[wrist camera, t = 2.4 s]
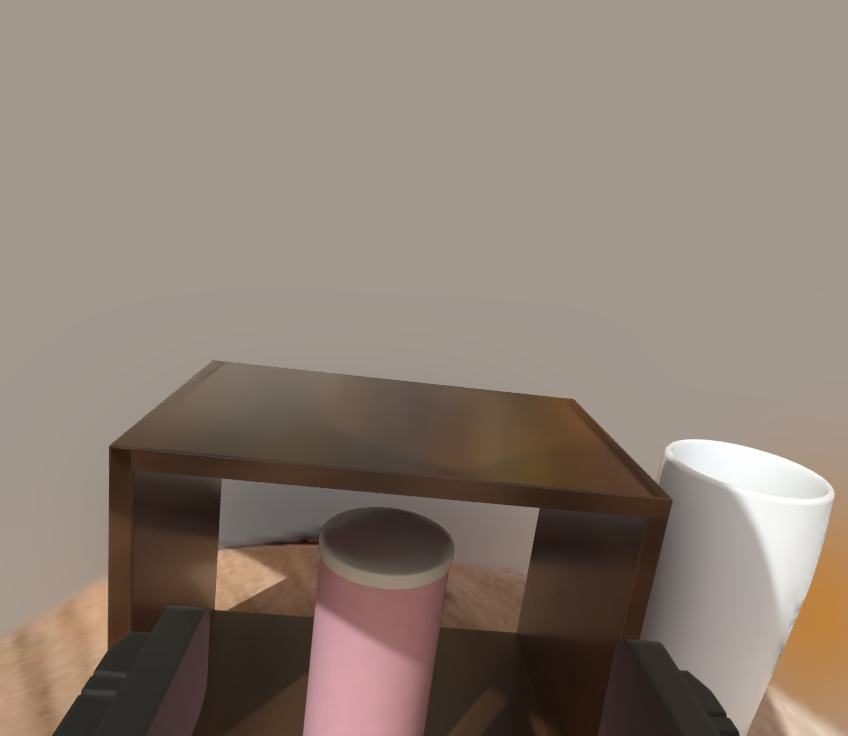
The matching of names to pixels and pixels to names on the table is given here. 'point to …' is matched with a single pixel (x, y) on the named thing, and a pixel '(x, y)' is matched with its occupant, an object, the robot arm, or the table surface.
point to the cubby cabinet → (401, 475)
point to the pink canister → (376, 623)
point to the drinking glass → (734, 565)
